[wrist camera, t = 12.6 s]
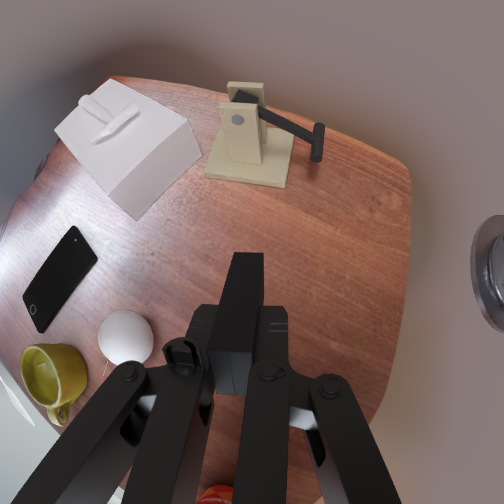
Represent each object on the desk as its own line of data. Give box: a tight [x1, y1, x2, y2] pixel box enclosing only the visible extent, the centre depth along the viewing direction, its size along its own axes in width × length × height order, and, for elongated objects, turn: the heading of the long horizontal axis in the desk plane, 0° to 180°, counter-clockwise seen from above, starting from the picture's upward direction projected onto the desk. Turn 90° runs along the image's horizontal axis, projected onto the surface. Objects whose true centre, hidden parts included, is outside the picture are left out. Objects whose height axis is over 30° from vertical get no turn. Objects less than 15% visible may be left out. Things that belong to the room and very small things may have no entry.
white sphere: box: [98, 310, 154, 375], centre depth 31 cm, size 10×7×7 cm
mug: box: [20, 344, 88, 426], centre depth 29 cm, size 12×10×10 cm
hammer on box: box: [55, 79, 202, 221], centre depth 38 cm, size 14×25×11 cm, turn 48°
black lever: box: [231, 89, 325, 163], centre depth 32 cm, size 13×6×2 cm, turn 78°
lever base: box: [203, 82, 295, 189], centre depth 35 cm, size 12×10×13 cm
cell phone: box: [23, 225, 97, 333], centre depth 37 cm, size 9×18×1 cm, turn 137°
